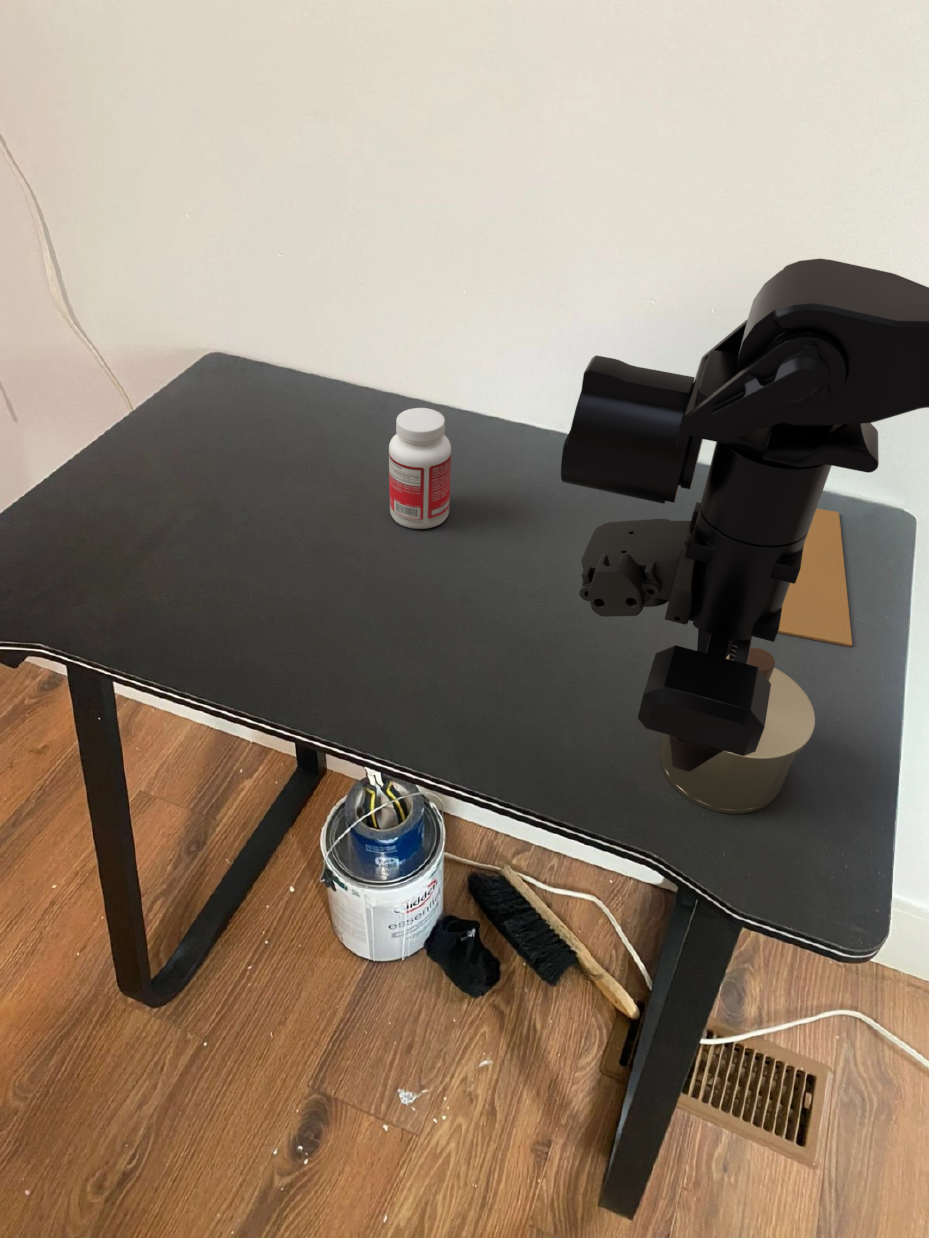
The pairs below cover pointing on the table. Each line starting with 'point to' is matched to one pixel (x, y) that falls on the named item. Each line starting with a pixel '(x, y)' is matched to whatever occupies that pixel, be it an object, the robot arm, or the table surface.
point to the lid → (780, 714)
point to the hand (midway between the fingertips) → (693, 715)
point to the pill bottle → (419, 469)
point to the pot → (727, 781)
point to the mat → (819, 586)
